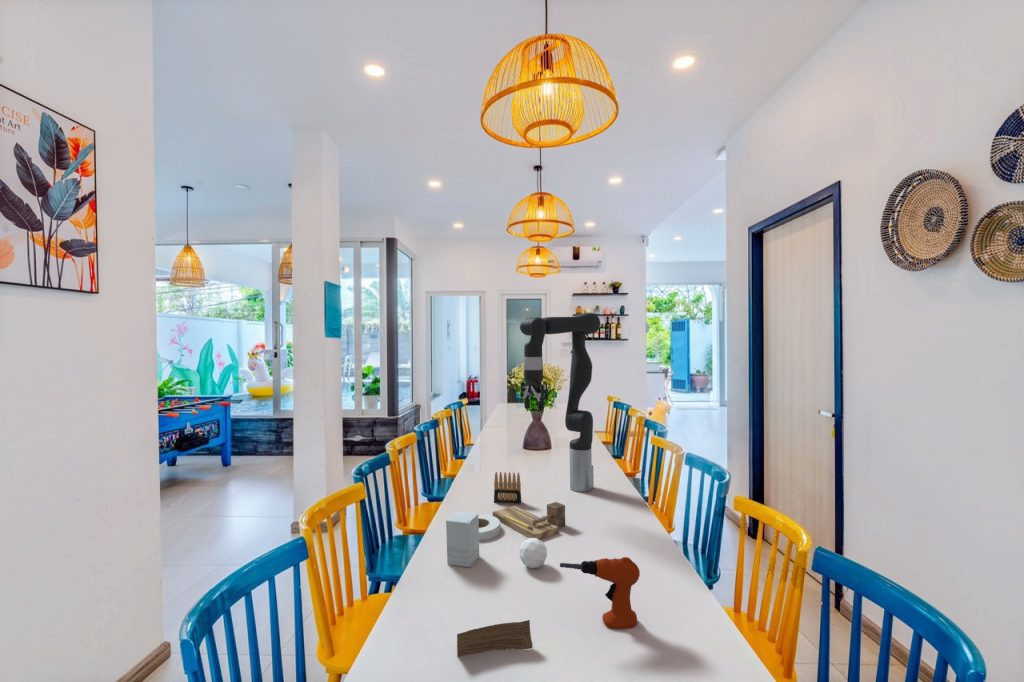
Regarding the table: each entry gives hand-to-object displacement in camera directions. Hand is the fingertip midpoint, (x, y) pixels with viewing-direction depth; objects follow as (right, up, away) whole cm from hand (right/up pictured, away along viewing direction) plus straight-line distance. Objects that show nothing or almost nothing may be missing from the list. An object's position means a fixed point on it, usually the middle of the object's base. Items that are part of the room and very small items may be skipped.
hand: (533, 409), depth 177 cm
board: (-5, -36, -22) cm, 43 cm away
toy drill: (+11, -37, -76) cm, 85 cm away
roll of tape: (-20, -37, -26) cm, 50 cm away
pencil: (-7, -34, -25) cm, 43 cm away
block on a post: (+3, -36, -25) cm, 44 cm away
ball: (-3, -37, -50) cm, 62 cm away
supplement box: (-23, -37, -46) cm, 63 cm away
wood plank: (-12, -37, -85) cm, 93 cm away
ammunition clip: (-10, -37, 0) cm, 38 cm away
